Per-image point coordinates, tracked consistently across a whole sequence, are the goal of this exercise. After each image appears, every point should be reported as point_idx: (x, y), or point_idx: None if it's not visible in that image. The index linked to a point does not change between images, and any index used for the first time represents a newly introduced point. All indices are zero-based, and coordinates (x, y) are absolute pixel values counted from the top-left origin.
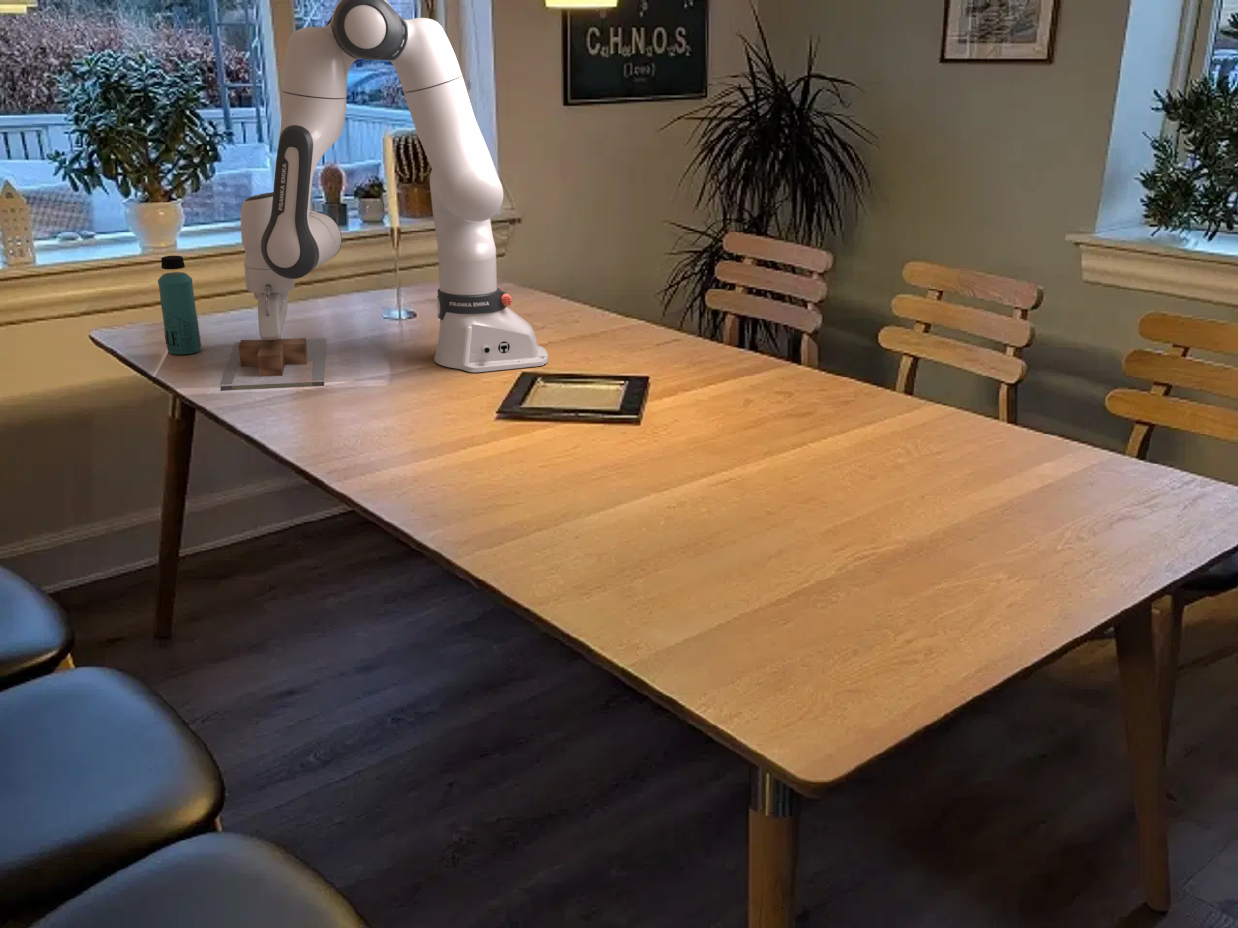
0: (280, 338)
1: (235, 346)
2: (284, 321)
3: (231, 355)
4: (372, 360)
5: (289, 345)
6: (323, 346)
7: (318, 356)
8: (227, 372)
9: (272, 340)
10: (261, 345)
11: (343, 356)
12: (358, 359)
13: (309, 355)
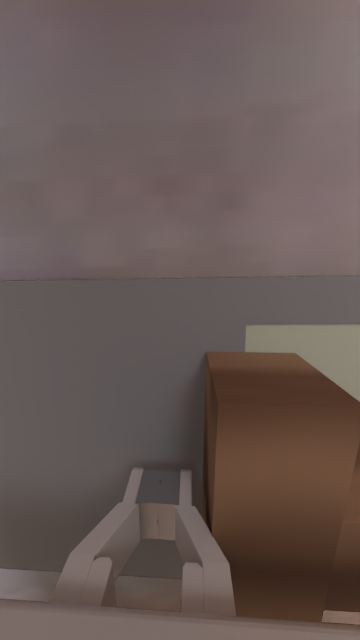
0: (131, 512)
1: (33, 566)
2: (11, 613)
3: (136, 574)
4: (185, 47)
5: (345, 484)
6: (26, 292)
7: (186, 308)
8: None
9: (238, 566)
10: (330, 608)
11: (105, 205)
12: (159, 128)
13: (165, 345)
